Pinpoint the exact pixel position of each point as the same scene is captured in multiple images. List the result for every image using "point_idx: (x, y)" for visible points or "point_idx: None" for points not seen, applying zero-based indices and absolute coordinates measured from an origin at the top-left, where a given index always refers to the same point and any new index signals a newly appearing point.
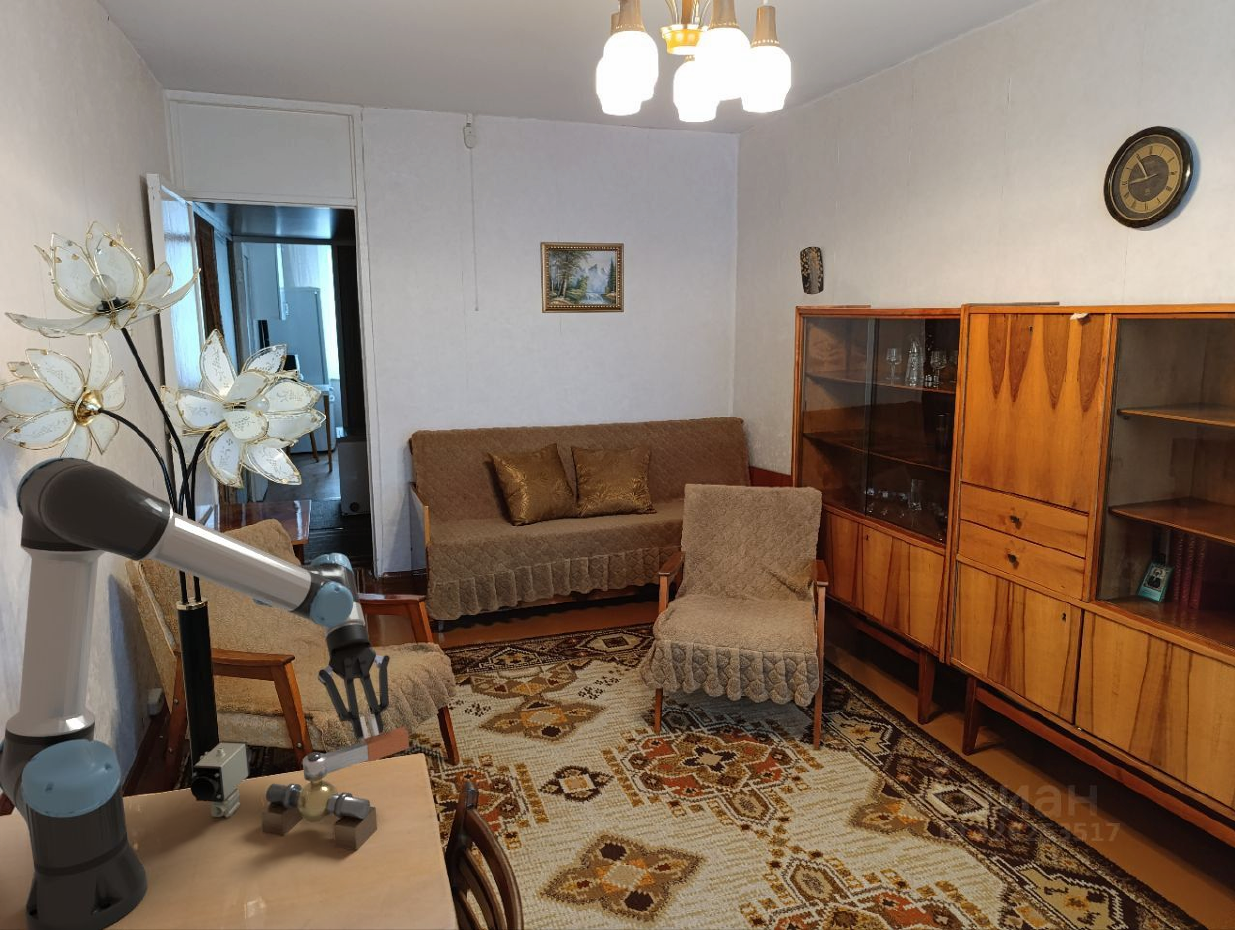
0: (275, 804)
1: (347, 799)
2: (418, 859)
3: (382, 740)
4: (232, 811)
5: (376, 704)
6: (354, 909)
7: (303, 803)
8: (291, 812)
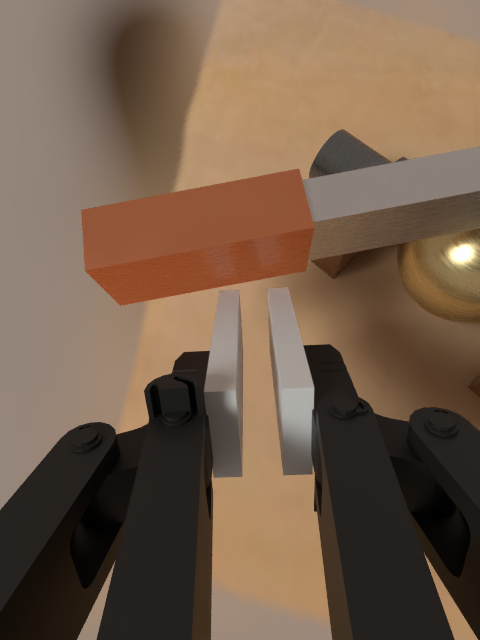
0: None
1: (382, 164)
2: (226, 109)
3: (223, 185)
4: None
5: (159, 444)
6: (370, 31)
7: None
8: None
